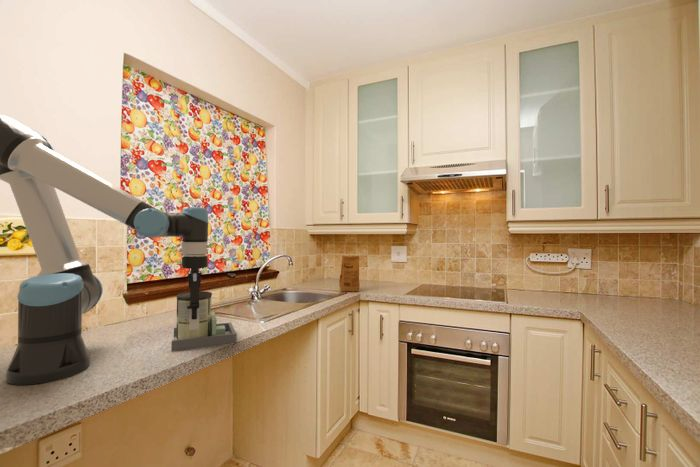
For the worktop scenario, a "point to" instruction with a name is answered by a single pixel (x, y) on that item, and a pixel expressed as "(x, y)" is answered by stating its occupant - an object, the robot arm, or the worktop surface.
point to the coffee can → (183, 316)
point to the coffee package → (349, 274)
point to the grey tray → (205, 339)
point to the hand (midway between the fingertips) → (193, 324)
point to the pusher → (216, 329)
